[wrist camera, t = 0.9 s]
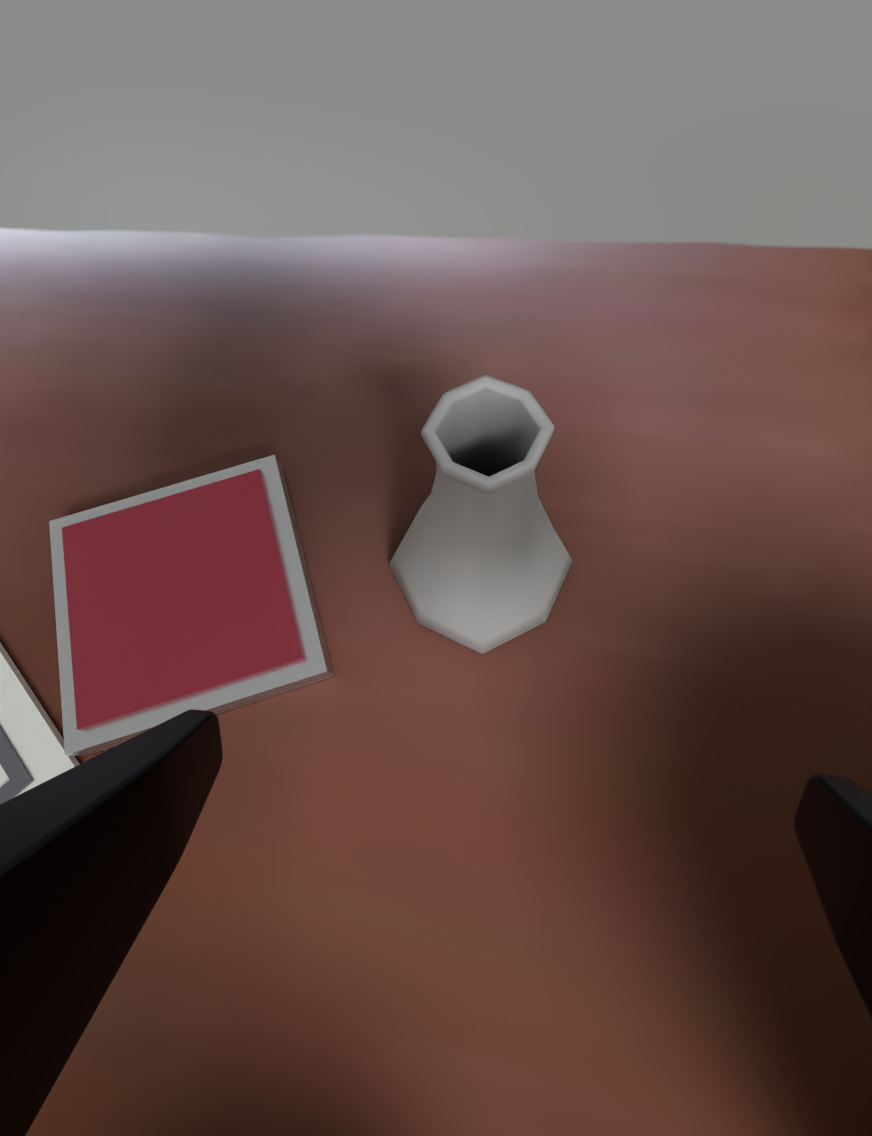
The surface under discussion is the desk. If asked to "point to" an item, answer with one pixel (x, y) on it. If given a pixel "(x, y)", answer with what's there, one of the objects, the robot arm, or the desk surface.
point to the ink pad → (182, 605)
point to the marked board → (26, 736)
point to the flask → (483, 520)
